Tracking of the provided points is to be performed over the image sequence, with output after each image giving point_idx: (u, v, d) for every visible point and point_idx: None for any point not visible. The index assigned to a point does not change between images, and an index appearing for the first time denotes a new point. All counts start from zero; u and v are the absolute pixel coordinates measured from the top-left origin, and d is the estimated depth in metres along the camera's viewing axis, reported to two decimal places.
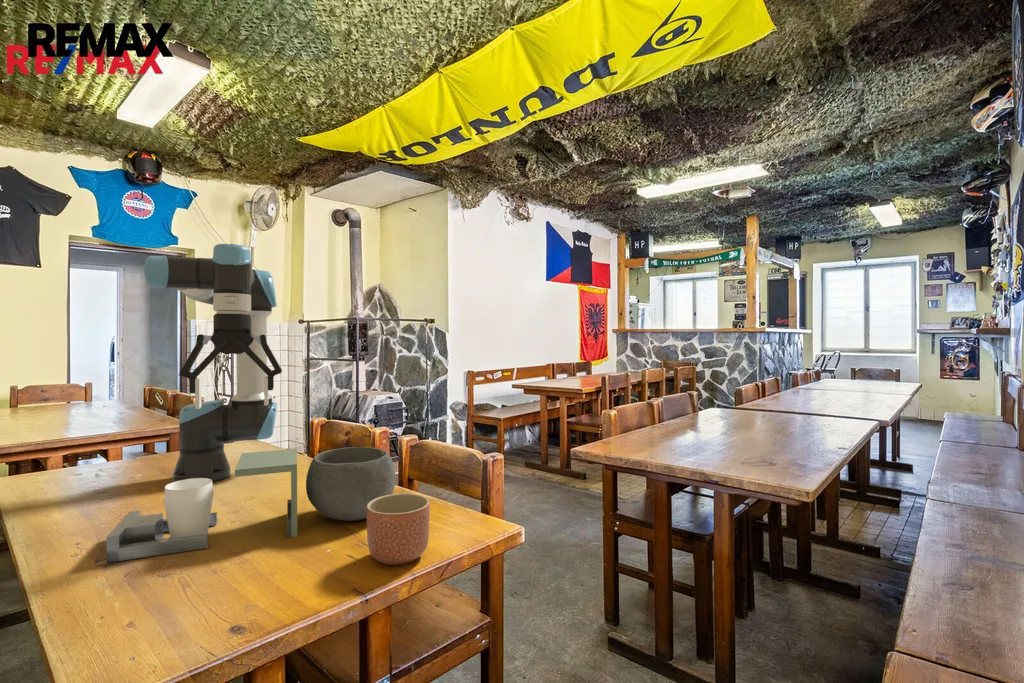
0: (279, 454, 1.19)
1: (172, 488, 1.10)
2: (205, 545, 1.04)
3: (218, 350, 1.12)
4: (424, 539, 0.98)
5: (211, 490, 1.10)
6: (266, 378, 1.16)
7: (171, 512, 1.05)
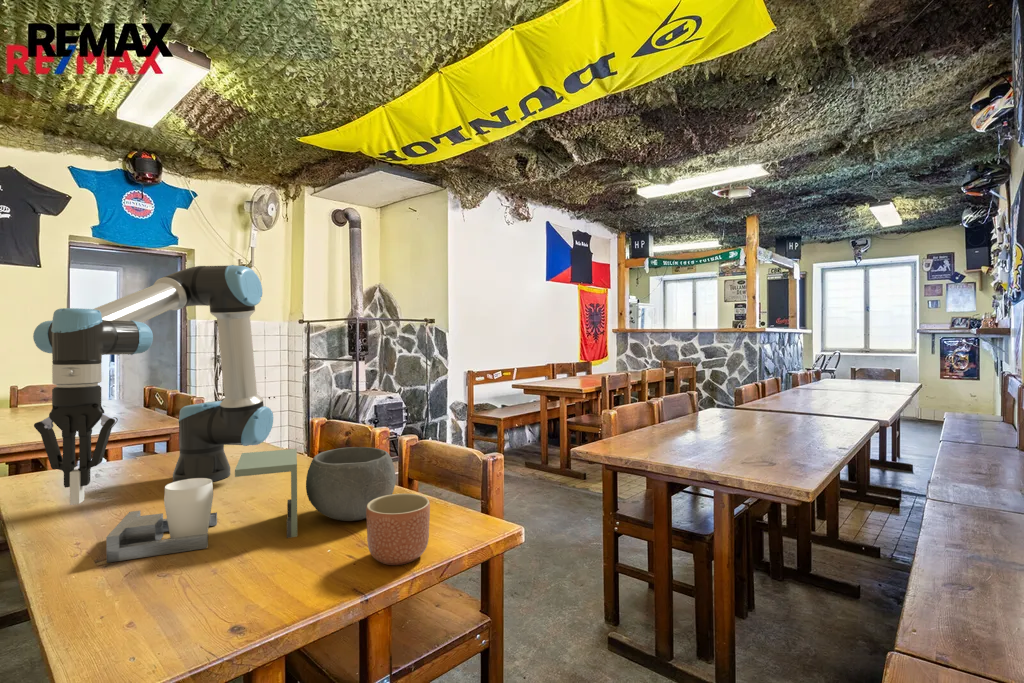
0: (279, 454, 1.19)
1: (172, 488, 1.10)
2: (205, 545, 1.04)
3: (67, 430, 0.99)
4: (424, 539, 0.98)
5: (211, 490, 1.10)
6: (77, 472, 1.00)
7: (171, 512, 1.05)
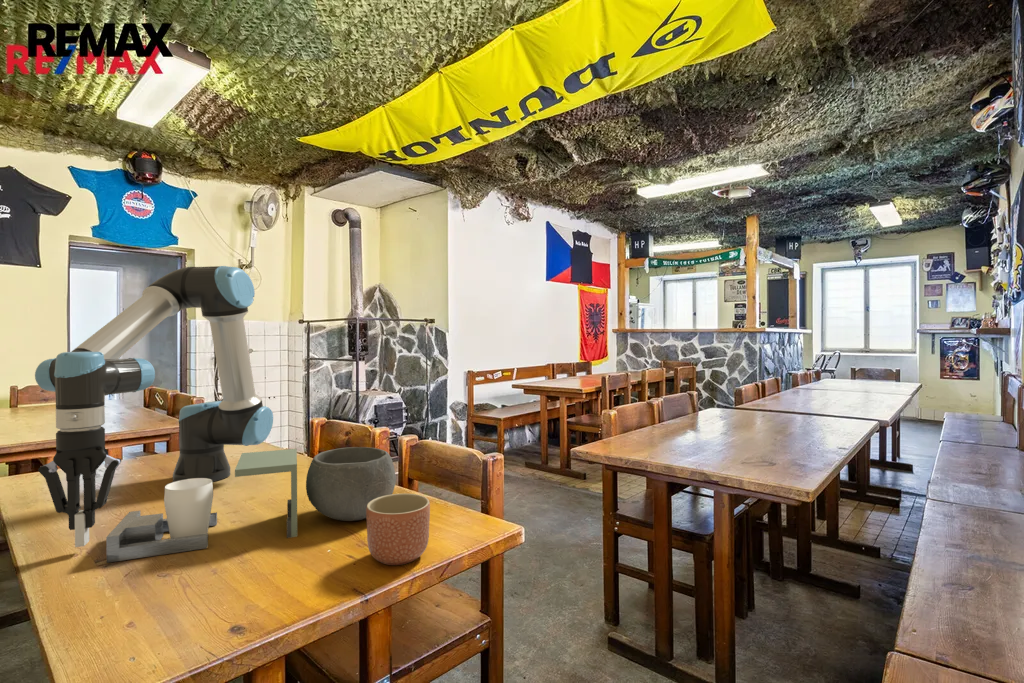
0: (279, 454, 1.19)
1: (172, 488, 1.10)
2: (205, 545, 1.04)
3: (71, 474, 1.00)
4: (424, 539, 0.98)
5: (211, 490, 1.10)
6: (82, 515, 1.01)
7: (171, 512, 1.05)
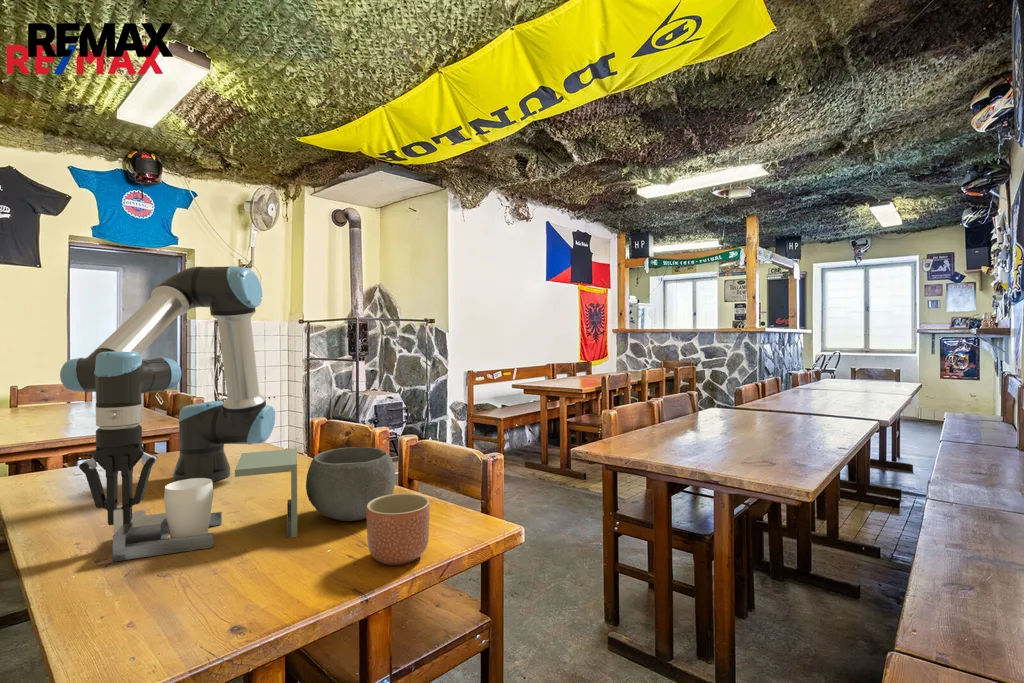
0: (279, 454, 1.19)
1: (172, 488, 1.10)
2: (210, 544, 1.04)
3: (110, 470, 1.02)
4: (424, 539, 0.98)
5: (211, 490, 1.10)
6: (120, 511, 1.03)
7: (171, 512, 1.05)
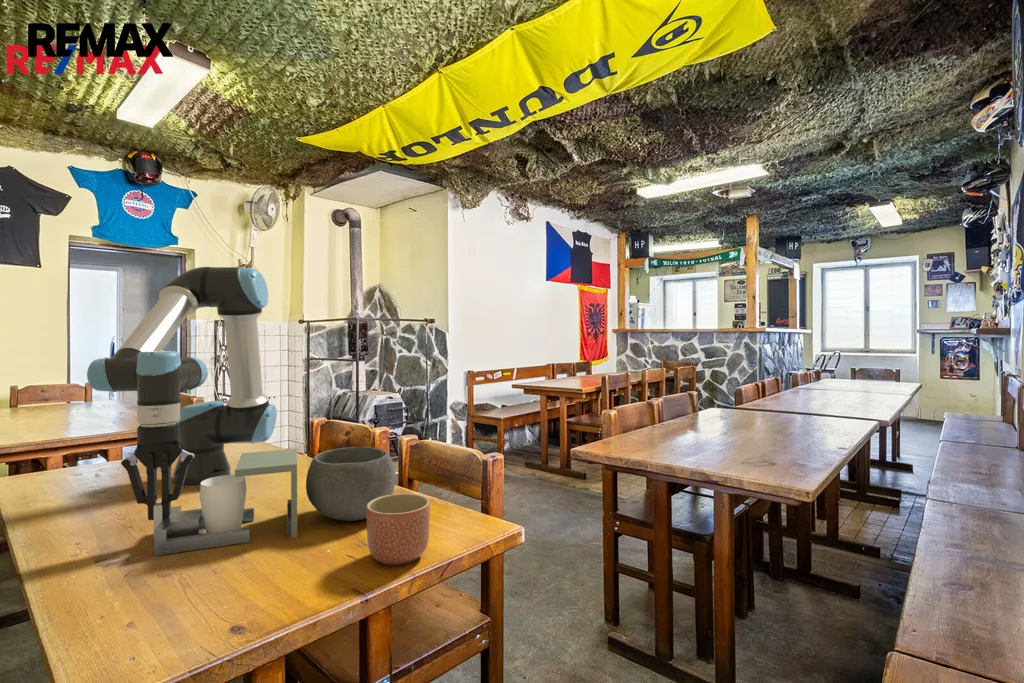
0: (279, 454, 1.19)
1: (207, 484, 1.13)
2: (247, 539, 1.07)
3: (151, 467, 1.05)
4: (424, 539, 0.98)
5: (245, 486, 1.13)
6: (160, 506, 1.06)
7: (207, 508, 1.08)
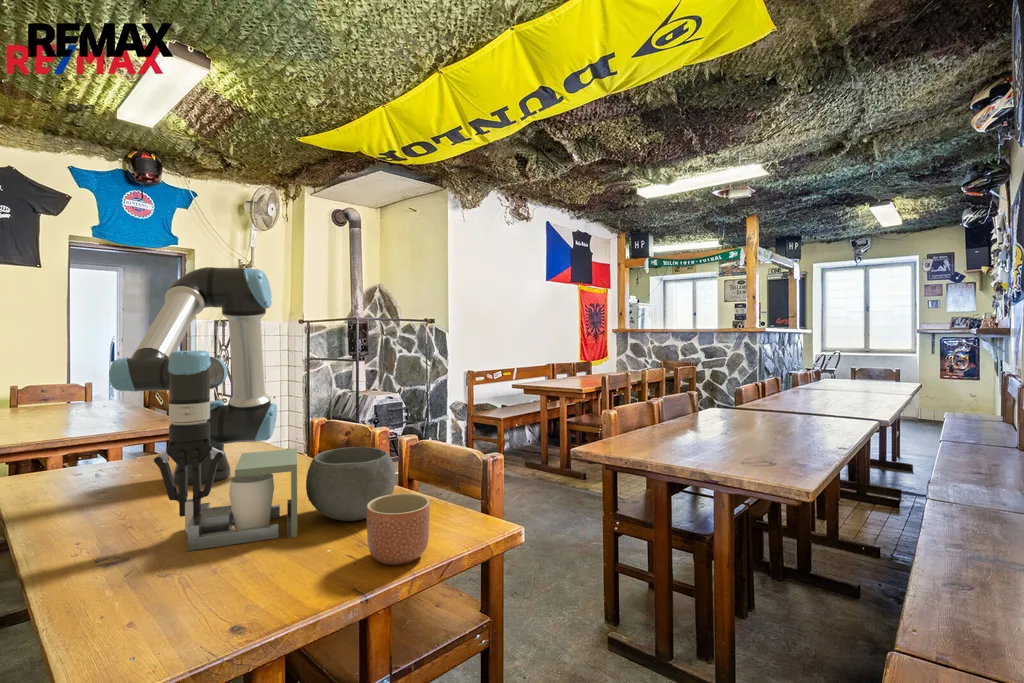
0: (279, 454, 1.19)
1: (235, 482, 1.15)
2: (276, 535, 1.09)
3: (182, 464, 1.07)
4: (424, 539, 0.98)
5: (272, 484, 1.15)
6: (191, 503, 1.08)
7: (236, 504, 1.10)
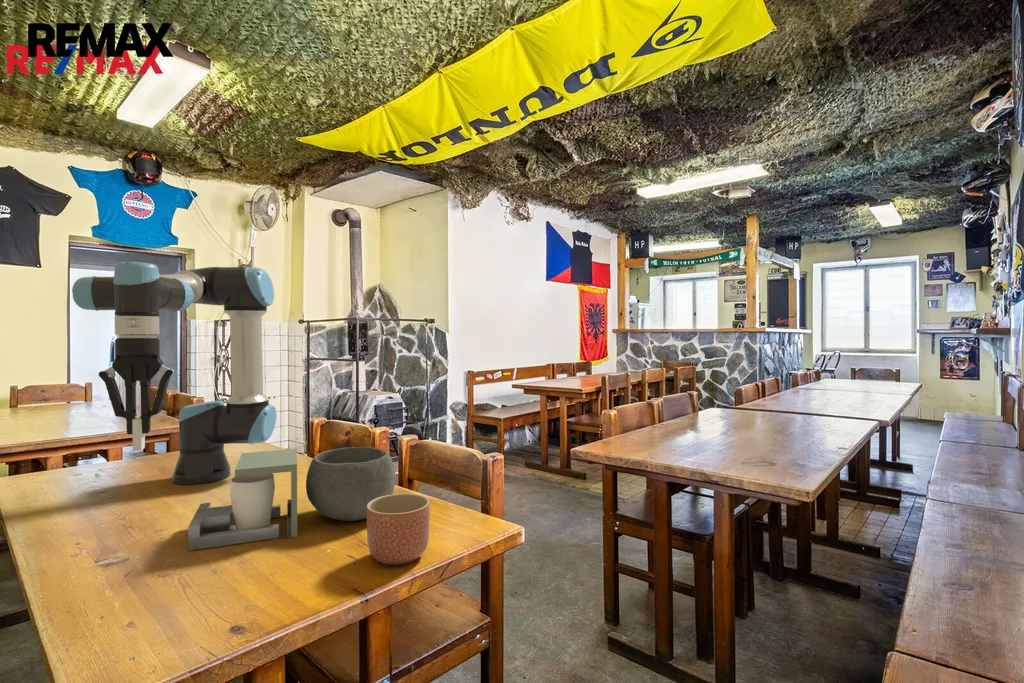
0: (279, 454, 1.19)
1: (236, 481, 1.15)
2: (277, 535, 1.09)
3: (129, 379, 1.03)
4: (424, 539, 0.98)
5: (273, 484, 1.15)
6: (139, 420, 1.04)
7: (237, 504, 1.10)
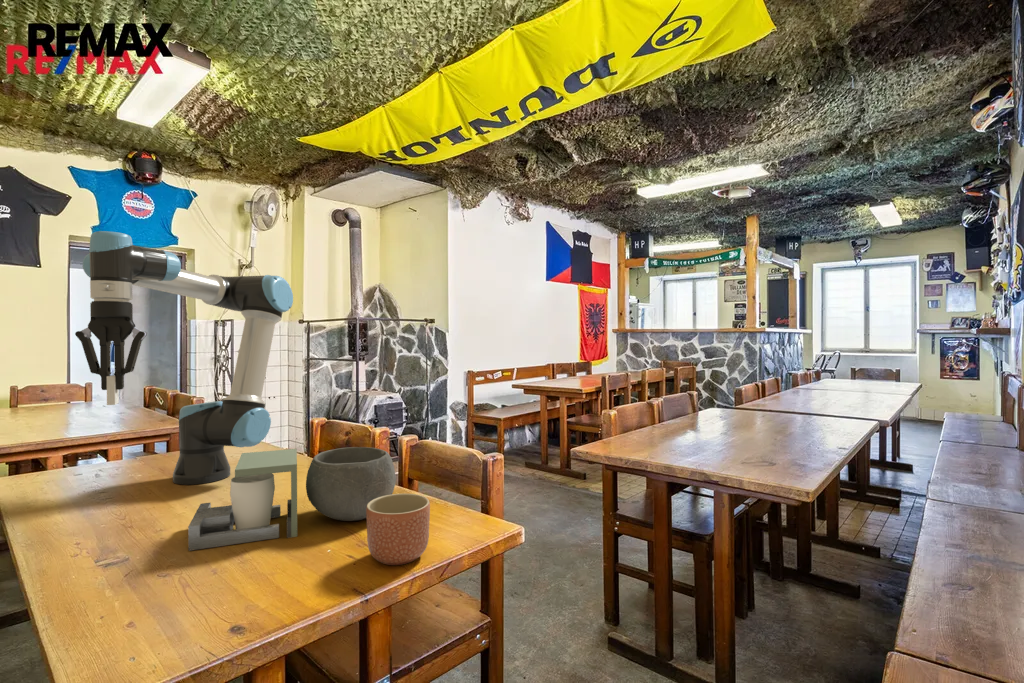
0: (279, 454, 1.19)
1: (236, 481, 1.15)
2: (277, 535, 1.09)
3: (103, 339, 1.13)
4: (424, 539, 0.98)
5: (273, 484, 1.15)
6: (113, 377, 1.14)
7: (237, 504, 1.10)
